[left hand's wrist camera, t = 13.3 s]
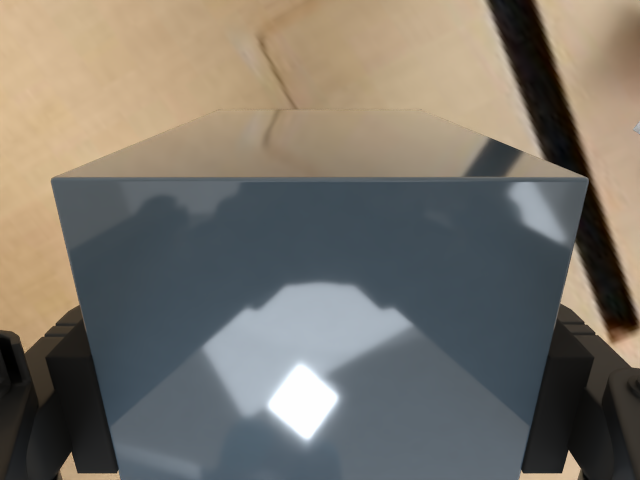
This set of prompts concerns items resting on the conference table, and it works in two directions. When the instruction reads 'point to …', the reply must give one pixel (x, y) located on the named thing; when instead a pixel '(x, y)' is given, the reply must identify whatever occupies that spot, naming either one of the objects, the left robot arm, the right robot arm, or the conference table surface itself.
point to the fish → (637, 128)
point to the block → (319, 295)
